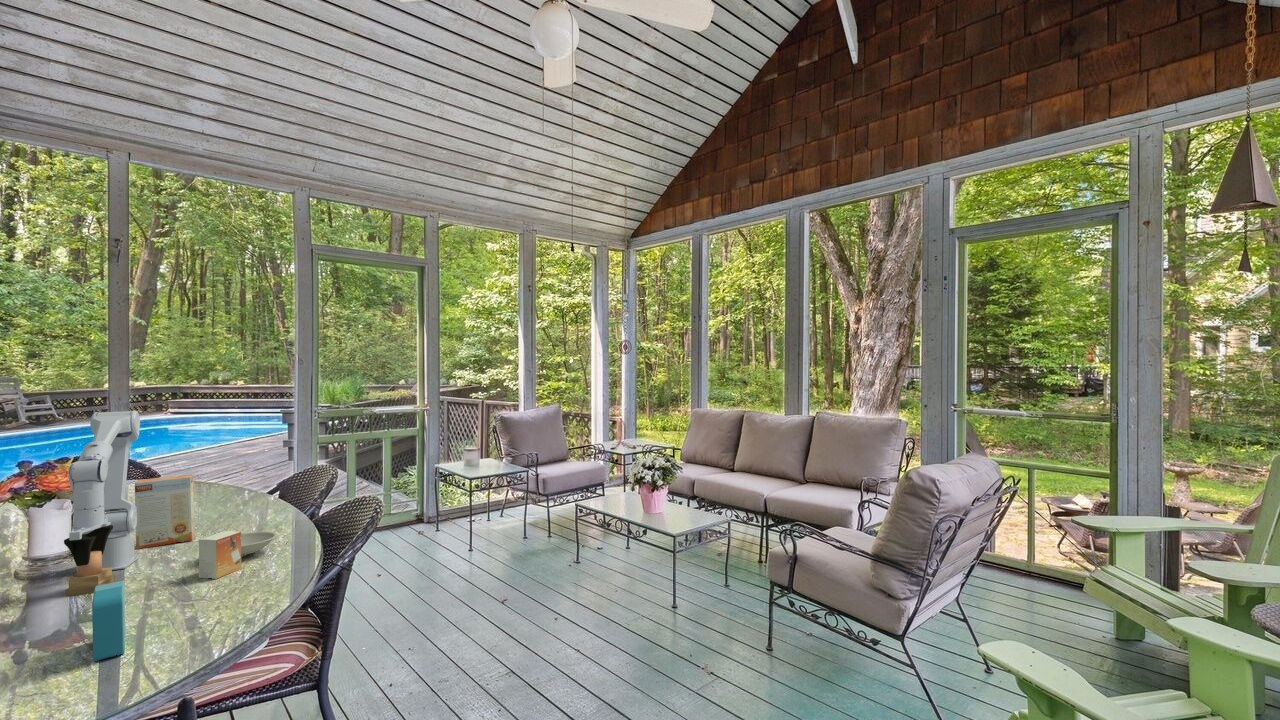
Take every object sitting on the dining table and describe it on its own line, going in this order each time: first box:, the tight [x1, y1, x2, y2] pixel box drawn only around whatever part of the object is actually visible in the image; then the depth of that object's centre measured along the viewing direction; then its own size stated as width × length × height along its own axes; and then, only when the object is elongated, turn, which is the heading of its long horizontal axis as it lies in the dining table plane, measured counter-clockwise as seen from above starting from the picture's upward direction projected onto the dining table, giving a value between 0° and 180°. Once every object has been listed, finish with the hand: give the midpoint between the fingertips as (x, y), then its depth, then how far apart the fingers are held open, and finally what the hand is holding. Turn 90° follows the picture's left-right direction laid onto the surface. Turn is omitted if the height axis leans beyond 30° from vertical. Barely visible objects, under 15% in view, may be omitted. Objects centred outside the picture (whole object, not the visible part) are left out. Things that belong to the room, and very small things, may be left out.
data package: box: [91, 580, 126, 662], centre depth 117 cm, size 12×4×12 cm, turn 41°
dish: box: [241, 531, 278, 558], centre depth 171 cm, size 18×14×5 cm
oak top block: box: [68, 567, 113, 588], centre depth 148 cm, size 6×6×2 cm
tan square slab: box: [65, 575, 116, 597], centre depth 148 cm, size 7×7×2 cm
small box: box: [198, 530, 242, 580], centre depth 157 cm, size 8×6×10 cm
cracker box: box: [134, 474, 196, 550], centre depth 184 cm, size 14×6×21 cm, turn 121°
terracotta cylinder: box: [76, 551, 102, 577], centre depth 147 cm, size 5×5×5 cm
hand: (90, 560), depth 148 cm, fingers open, 7 cm apart
